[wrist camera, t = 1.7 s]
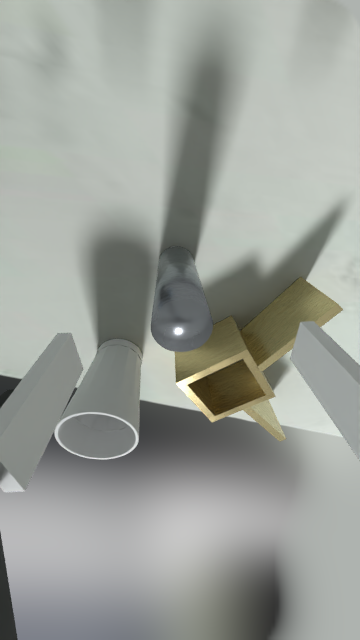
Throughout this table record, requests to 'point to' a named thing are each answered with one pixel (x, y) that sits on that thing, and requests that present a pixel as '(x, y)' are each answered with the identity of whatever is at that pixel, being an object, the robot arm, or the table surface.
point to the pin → (179, 303)
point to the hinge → (249, 356)
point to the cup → (105, 405)
